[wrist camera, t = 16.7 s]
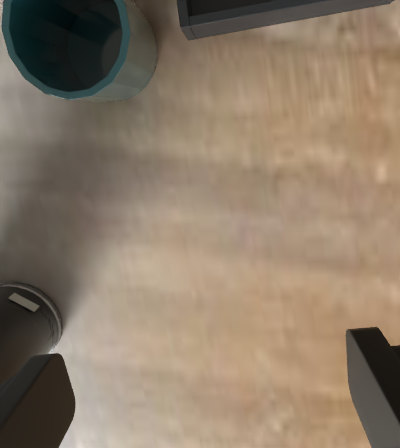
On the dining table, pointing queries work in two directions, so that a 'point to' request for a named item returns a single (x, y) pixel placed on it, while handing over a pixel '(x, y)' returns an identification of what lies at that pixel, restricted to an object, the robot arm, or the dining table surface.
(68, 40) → the cup
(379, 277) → the dining table surface
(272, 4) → the black open box
